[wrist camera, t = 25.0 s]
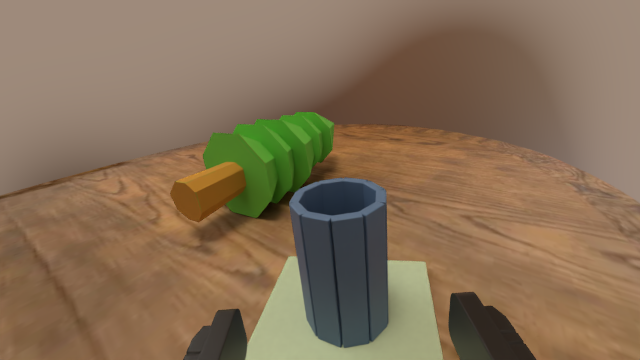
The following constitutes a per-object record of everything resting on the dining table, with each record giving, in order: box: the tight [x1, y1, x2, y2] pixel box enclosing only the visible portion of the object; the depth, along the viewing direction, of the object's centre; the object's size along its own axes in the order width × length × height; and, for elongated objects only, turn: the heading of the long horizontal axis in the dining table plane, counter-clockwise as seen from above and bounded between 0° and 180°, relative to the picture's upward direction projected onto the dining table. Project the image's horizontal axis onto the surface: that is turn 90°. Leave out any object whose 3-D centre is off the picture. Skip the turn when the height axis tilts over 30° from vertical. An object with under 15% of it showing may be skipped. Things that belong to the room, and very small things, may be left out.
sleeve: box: [289, 178, 389, 348], centre depth 20 cm, size 6×6×9 cm
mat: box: [245, 256, 443, 360], centre depth 22 cm, size 12×12×1 cm
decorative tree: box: [170, 112, 334, 222], centre depth 42 cm, size 11×12×30 cm
